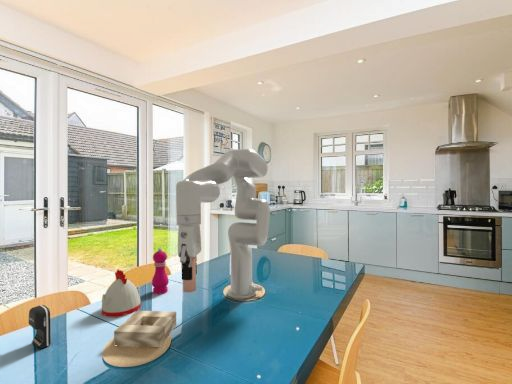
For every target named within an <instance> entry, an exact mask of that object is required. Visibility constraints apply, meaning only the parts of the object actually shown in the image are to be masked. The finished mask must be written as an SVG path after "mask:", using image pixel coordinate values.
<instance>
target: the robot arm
mask: <svg viewBox="0 0 512 384" xmlns="http://www.w3.org/2000/svg"><path fill="white" fill-rule="evenodd" d="M267 173H268V163H267V161H266V159H265V158H264V157H263V156H261V155H260V154H259V153H258V152H257V151H255V150H254V149H252V148H241V149H230V150H228V151H225V152H224V153H223V155H221V156H220V158H218V159H217V160H216V161H215V162H214V163H212V164H209V165H207V166H205V167H202V168H199V169H198V170H196V171H193V172H192V173H190V174H188V176H186V177H185V178H184V179H183V180H179V181H177V183H176V185H175V187H176V188H175V202H176V203H175V206H176V207H175V209H176V210H175V211H176V213H175V215H176V216H175V217H176V218H175V219H176V226H178V232H177V255H178V256H177V257H179V262H180V265H181V266H180V267H181V280H182V281H183V280H192V267H191V258H194V257H195V256H196V275H197V274H198V273H197V272H198V270H197V269H198V267H197V266H198V265H197V261H198V258H197V257H198V255H199V254H200V253H201V252H202V238H201V237H202V236H201V224H202V215H201V213H202V211H201V210H202V208H201V204H202V203H205V204H206V203H214V202H215V201H216V200H217V199H218V198H219V196H220V194H221V189H220V186H219V185H221V184H224V183H227V182H228V181H230V179H232V177H233V179H234V183H236V196H235V197H236V198H235V205H234V216H235V217H236V219H238V220H243V221H244V220H245V221H255V222H243V221H242V222H241V221H240V222H233V223H232V224H230V226H229V227H228V230H227V235H228V236H227V237H228V242H229V248H230V288H229V289H228V290H227V296H228V297H230V298H232V299H236V300H237V299H238V300H244V299H245V298H246V299H250V298H252V296H253V297H254V296H256V293H257V291H258V292H262V291H263V286H261V284H255V283H254V281H253V252H252V250H251V248H250V247H249V246H257V247H259V246H260V247H261V246H262V247H263V246H264V245H266V242H267V240H268V236H269V228H270V227H269V225H270V218H271V214H270V213H271V209H270V208H271V207H270V204H269V202H268V201H267V200H266V199H265V198H264V199H263V198H256V193H257V192H256V187H255V184H254V182H252V180H251V179H256V178H264V177H265V176H266V175H267ZM186 255H189V257H186ZM186 259H189V262H188V260H186ZM246 299H245V300H246Z"/></svg>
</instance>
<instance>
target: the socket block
mask: <svg viewBox="0 0 512 384" xmlns="http://www.w3.org/2000/svg"><path fill="white" fill-rule="evenodd" d="M176 326H177V311H169V310H168V311H166V310H165V311H160V310H137V311H135V312H133V313H132V315H130V316H129V317H128V318H127V319H126V320H125V321H123V323H121V324H120V325H119V326H118V327H117V328H115V330H114V331H113V346H114V345H117V346H116V347H126V346H135V347H134V348H150V347H160V346H161V347H162V346H163V344H164V343H165V341H166V340H167V338H168V337H169V336H170V335H171V333H172V332H173V330H174V329H175V328H176ZM165 339H166V340H165ZM136 346H138V347H136ZM161 347H160V348H161Z"/></svg>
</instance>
